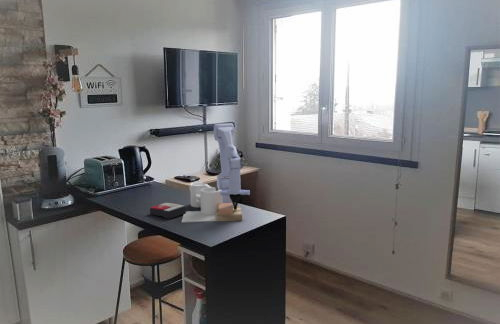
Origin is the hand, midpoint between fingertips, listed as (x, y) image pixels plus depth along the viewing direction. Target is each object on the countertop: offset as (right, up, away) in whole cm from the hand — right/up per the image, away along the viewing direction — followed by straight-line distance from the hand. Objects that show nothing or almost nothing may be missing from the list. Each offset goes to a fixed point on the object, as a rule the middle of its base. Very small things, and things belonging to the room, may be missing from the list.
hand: (235, 209), depth 196 cm
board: (-3, -3, 0) cm, 4 cm away
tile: (-5, -1, 0) cm, 5 cm away
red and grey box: (-34, -3, +4) cm, 34 cm away
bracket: (-16, -2, +13) cm, 21 cm away
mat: (-17, -4, -1) cm, 18 cm away
